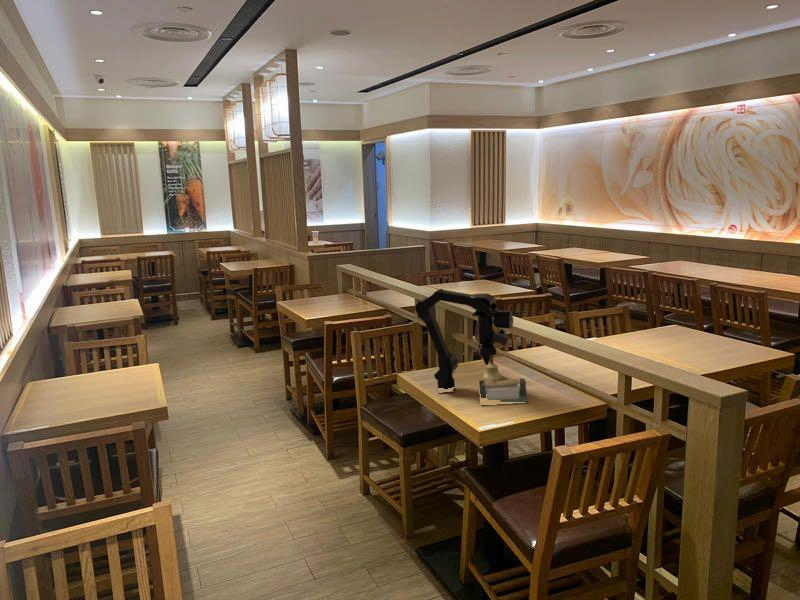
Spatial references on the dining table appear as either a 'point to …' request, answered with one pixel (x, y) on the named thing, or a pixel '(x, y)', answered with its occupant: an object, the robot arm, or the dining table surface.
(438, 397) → the dining table surface
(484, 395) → the heatsink board
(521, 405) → the dining table surface
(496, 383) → the wooden plank
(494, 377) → the hand bell
